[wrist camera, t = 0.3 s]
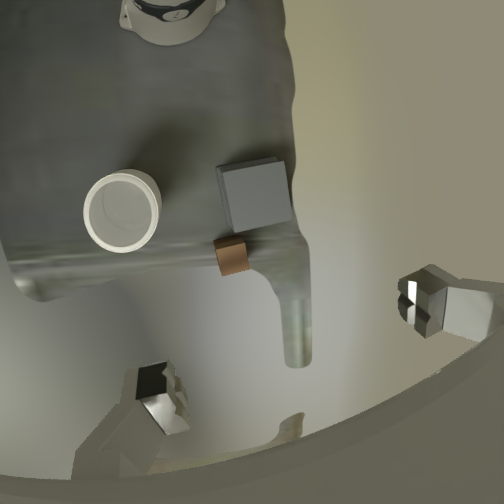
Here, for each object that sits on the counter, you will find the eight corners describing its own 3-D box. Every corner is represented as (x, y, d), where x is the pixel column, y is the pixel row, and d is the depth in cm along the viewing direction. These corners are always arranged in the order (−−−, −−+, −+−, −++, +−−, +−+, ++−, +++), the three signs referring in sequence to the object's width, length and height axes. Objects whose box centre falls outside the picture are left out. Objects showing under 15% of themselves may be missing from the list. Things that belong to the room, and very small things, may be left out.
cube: (213, 240, 57) (216, 249, 52) (239, 234, 57) (244, 242, 53) (218, 265, 59) (222, 276, 54) (244, 259, 59) (249, 269, 55)
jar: (111, 162, 48) (85, 170, 34) (168, 168, 50) (163, 177, 37) (105, 221, 51) (81, 249, 37) (161, 227, 54) (154, 257, 40)
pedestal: (215, 167, 52) (219, 170, 47) (275, 156, 54) (286, 158, 48) (227, 226, 56) (232, 235, 51) (284, 213, 58) (295, 221, 52)
